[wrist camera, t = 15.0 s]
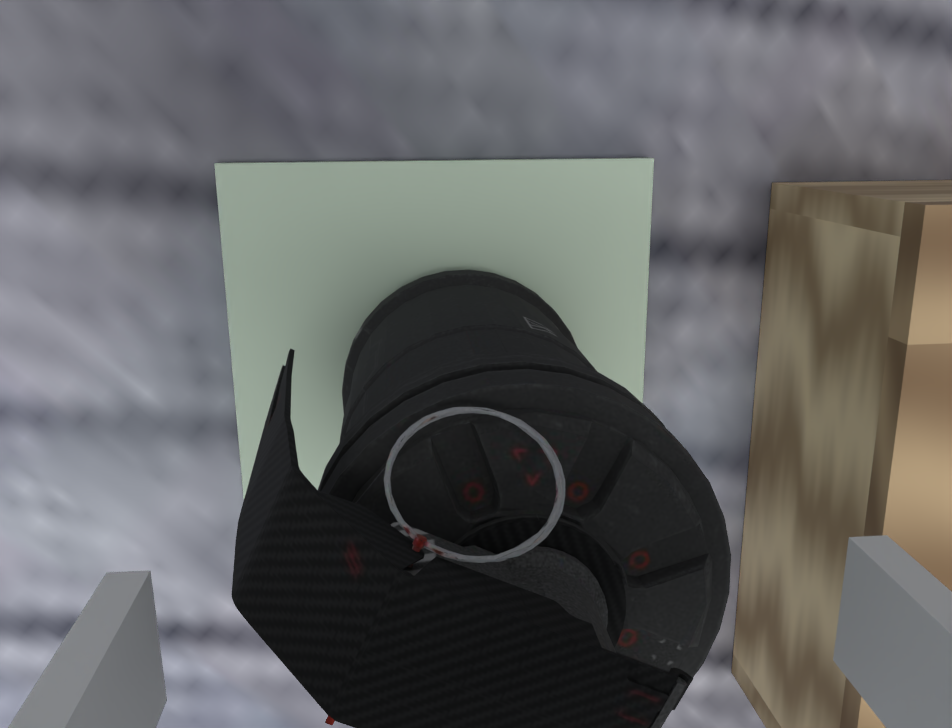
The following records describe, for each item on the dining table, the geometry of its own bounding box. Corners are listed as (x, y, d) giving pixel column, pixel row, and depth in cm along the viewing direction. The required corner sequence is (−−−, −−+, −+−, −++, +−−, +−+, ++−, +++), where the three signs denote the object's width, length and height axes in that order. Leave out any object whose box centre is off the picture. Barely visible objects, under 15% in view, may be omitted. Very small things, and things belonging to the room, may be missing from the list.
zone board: (218, 162, 31) (214, 163, 30) (647, 157, 33) (654, 158, 32) (252, 559, 36) (249, 568, 35) (630, 539, 37) (635, 547, 36)
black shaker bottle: (513, 519, 35) (659, 987, 16) (260, 417, 33) (80, 817, 14) (617, 321, 33) (921, 582, 14) (356, 199, 31) (302, 313, 12)
